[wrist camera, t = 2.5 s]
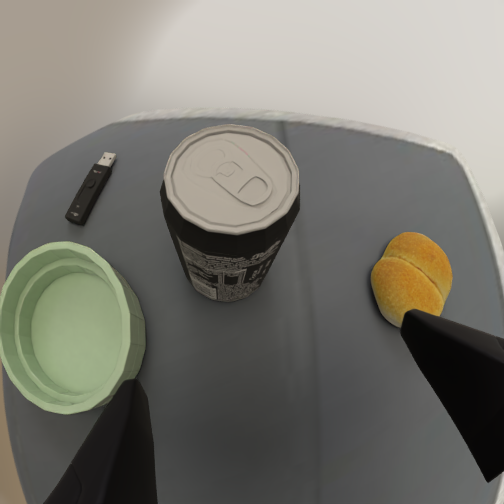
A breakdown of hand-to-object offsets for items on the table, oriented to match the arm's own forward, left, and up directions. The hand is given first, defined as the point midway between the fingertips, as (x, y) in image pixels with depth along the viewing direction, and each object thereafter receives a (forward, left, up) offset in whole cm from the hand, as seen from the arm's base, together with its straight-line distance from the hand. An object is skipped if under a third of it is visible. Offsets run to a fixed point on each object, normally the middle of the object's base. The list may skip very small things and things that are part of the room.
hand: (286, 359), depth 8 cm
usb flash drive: (+16, +14, -13) cm, 25 cm away
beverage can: (+8, +1, -13) cm, 16 cm away
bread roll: (+5, -15, -13) cm, 21 cm away
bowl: (+2, +14, -13) cm, 19 cm away
